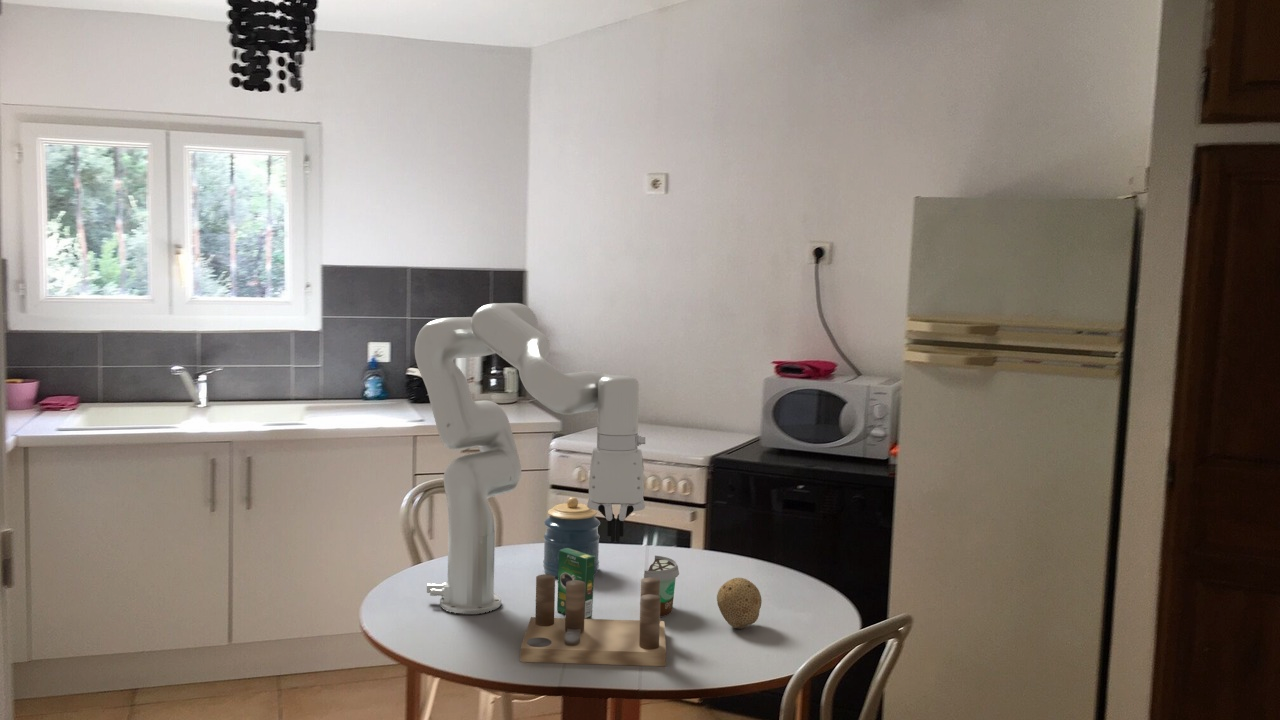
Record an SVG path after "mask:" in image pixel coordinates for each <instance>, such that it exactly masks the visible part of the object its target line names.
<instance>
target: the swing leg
mask: <svg viewBox="0 0 1280 720" xmlns="http://www.w3.org/2000/svg"><path fill="white" fill-rule="evenodd" d="M584 616H585V582H583V581H579V580H571V581H568V582H566V607H565V614H564V618H565V631H566V632H567V634H565V641H564V642H565V643H566V644H569V645H576V644H579V643H580V633H581V632H583V631H584Z"/></svg>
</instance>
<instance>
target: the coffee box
mask: <svg viewBox="0 0 1280 720" xmlns="http://www.w3.org/2000/svg"><path fill="white" fill-rule="evenodd" d="M594 563H595V556H592V555H589V554H585V553H582V552H579V551H576V550H573V549H570V548H564V549H561V550H559V571H558V578H557V601H556V603H557V604H556V605H557V606H556V611H557V612H559V613H562V614H564V615H565V607H566V582H568V581H571V580H579V581H583V582H585V616H584V619H593V602H594V600H593V599H594V579H595V578H594V577H595V575H594Z"/></svg>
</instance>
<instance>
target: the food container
mask: <svg viewBox="0 0 1280 720" xmlns="http://www.w3.org/2000/svg"><path fill="white" fill-rule="evenodd" d="M679 575H680V572H679V566H678V564H677V561H676V560H674V559H672V558H670V557H667V556H663V555H654V561H653V563H651V564H650V565H649V568H648V570H644V574H643V578H657V579H659V580H660V593H659V596H660V597H661V602H660V618H662V617H665V616H669V615H670V614H672V612H673V607H674V597H675V588H676V587H675V586H676V580H677V579H676V578H678V576H679Z"/></svg>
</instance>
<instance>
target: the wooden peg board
mask: <svg viewBox="0 0 1280 720" xmlns="http://www.w3.org/2000/svg"><path fill="white" fill-rule="evenodd" d="M659 593H660V580H659V579H657V578H644V577H643V578H641V579H640V602H639V620H636V619H635V620H633V619H632V620H631V619H604V618H590V619H584V631H583V632H581V633H580V643H579V644H576V645H569V644H566V643H565V642H564V641H565V634H567V632H566V631H565V617H563V618H562V617H555V609H556V608H555V604H556V603H555V601H556V597H555V596H556V595H555V594H556V578H555V576H553V575H549V574H546V573H545V574H538V575H537V576H536V577H535V614H534V615H535V617H534V616H533V617H532V616H531V617H530V619H529V622H528V626H527V627H526V631H525V634H524V637H523V640H522V643H521V645H520V656H519V657H520V658H519V660H520V663H549V664H578V665H580V664H582V665H587V664H588V665H611V666H612V665H615V666H617V665H618V666H620V665H621V666H645V667H647V666H648V667H649V666H650V667H666V664H667V659H666V658H667V646H666V645H667V644H666V627H665V626H666V625H665V621H663V620H661V617H660V602H661V597H660V596H659Z"/></svg>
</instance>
